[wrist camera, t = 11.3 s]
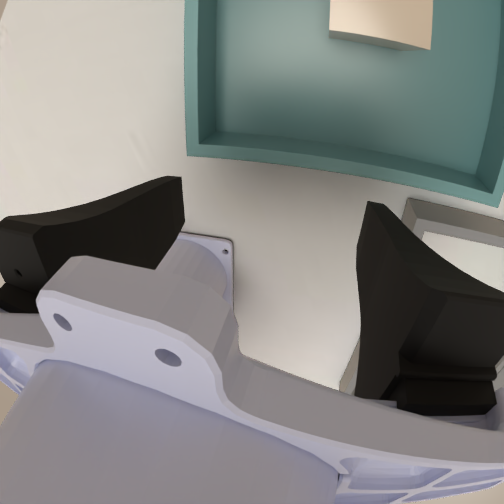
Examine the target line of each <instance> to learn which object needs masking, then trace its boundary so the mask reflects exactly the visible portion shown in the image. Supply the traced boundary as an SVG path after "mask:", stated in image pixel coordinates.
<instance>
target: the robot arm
mask: <svg viewBox="0 0 504 504" xmlns="http://www.w3.org/2000/svg"><path fill="white" fill-rule="evenodd" d="M184 222H185V215H184V204H183V192H182V179H181V177H175V176H164V177H160V178H157V179H154V180H151V181H148V182H145V183H143V184H140V185H137V186H135V187H132V188H130V189H127V190H124V191H122V192H119V193H116V194H113V195H111V196H108V197H105V198H102V199H99V200H96V201H93V202H89V203H86V204H83V205H79V206H74V207H70V208H66V209H61V210H56V211H51V212H44V213H38V214H28V215H17V216H8V217H5V218H4V219H3V220H1V221H0V273H1V275H2V277H3V279H4V281H5V282H6V283H5V284H4V285H3V286H2V287H1V288H0V381H2V382H3V383H4V384H5V385H7V386H8V387H9V388H10V389H12V390H13V391H14V392H16V393H17V394H18V395H19V396H18V398H17V399H16V401H15V402H14V404H13V406H12V407H11V409H10V411H9V412H8V414H7V415H6V417H5V419H4V421H3V422H2V424H1V426H0V504H401V503H409V502H417V501H424V500H431V499H438V498H444V497H450V496H455V495H461V494H466V493H471V492H476V491H481V490H486V489H490V488H492V487H494V486H496V485H498V484H500V483H502V482H504V387H501V388H499V389H497V390H495V391H494V386H493V382H492V381H494V380H495V379H496V378H497V372H496V368H495V365H496V364H497V363H498V362H499V361H500V359H501V358H502V357H503V356H504V292H502V291H500V290H497V289H495V288H493V287H491V286H488V285H486V284H484V283H483V282H481V281H479V280H477V279H475V278H473V277H472V276H470V275H468V274H466V273H465V272H463V271H461V270H460V269H458V268H457V267H455V266H454V265H452V264H451V263H449V262H448V261H446V260H445V259H444V258H442V257H441V256H440V255H438V254H437V253H436V252H435V251H433V250H432V249H431V248H429V247H428V246H427V245H426V244H425V243H424V242H423V241H421V240H420V239H419V238H418V237H417V236H416V235H415V234H414V233H413V232H412V231H411V230H410V229H409V228H408V227H407V226H406V225H405V224H404V223H403V222H402V221H401V220H400V219H399V218H398V217H397V216H396V215H395V214H394V213H393V212H392V211H391V210H390V209H389V208H388V207H387V206H385V205H384V204H381V203H376V202H370V201H367V206H366V210H365V215H364V219H363V223H362V228H361V232H360V236H359V240H358V244H357V255H356V271H357V281H358V291H359V302H360V313H361V332H360V348H359V360H358V370H357V378H356V386H355V393H354V396H353V395H350V394H347V393H344V392H341V391H338V390H335V389H332V388H329V387H326V386H323V385H321V384H318V383H315V382H312V381H309V380H307V379H304V378H301V377H298V376H296V375H293V374H290V373H288V372H285V371H283V370H280V369H277V368H275V367H272V366H270V365H267V364H265V363H262V362H260V361H257V360H255V359H252V358H250V357H247V356H245V355H243V354H242V353H241V352H240V349H239V344H238V323H237V321H236V318H235V315H234V312H233V245H232V243H231V241H229V240H227V239H220V238H214V237H207V236H200V235H194V234H187V233H180V231H181V229H182V227H183V225H184ZM224 249H226V250H228V252H226V251H225V250H224Z"/></svg>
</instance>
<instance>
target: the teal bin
mask: <svg viewBox="0 0 504 504" xmlns="http://www.w3.org/2000/svg"><path fill="white" fill-rule="evenodd" d="M329 21H330V0H185V16H184V86H185V123H186V147H187V156H196V157H210V158H222V159H234V160H244V161H254V162H263V163H272V164H280V165H288V166H296V167H303V168H311V169H317V170H324V171H331V172H337V173H343V174H349V175H355V176H361V177H366V178H372V179H377V180H382V181H388V182H393V183H398V184H402V185H407V186H412V187H417V188H421V189H426V190H430V191H434V192H439V193H443V194H447V195H451V196H455V197H459V198H463V199H467V200H471V201H474V202H478V203H482V204H485V205H489V206H493V207H496V208H498V206H499V204H500V201H501V198H502V195H503V192H504V0H433V16H432V35H431V48H430V50H412V51H400V50H395V49H391V48H386V47H381V46H376V45H371V44H365V43H359V42H353V41H347V40H340V39H332V38H329Z"/></svg>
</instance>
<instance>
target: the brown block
mask: <svg viewBox="0 0 504 504" xmlns="http://www.w3.org/2000/svg"><path fill="white" fill-rule="evenodd" d="M432 16H433V0H330V21H329V38H332V39H340V40H347V41H353V42H359V43H365V44H371V45H376V46H381V47H386V48H391V49H395V50H400V51H412V50H430V48H431V35H432Z"/></svg>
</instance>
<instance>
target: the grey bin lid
mask: <svg viewBox="0 0 504 504" xmlns="http://www.w3.org/2000/svg"><path fill="white" fill-rule="evenodd" d="M492 382H493V386H494V391H495V390H497V389H499V388H501V387H504V366H503V367H502V369H501V370H500V371H499V372H498V373H497V378H496V379H495V380H494V381H492Z"/></svg>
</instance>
